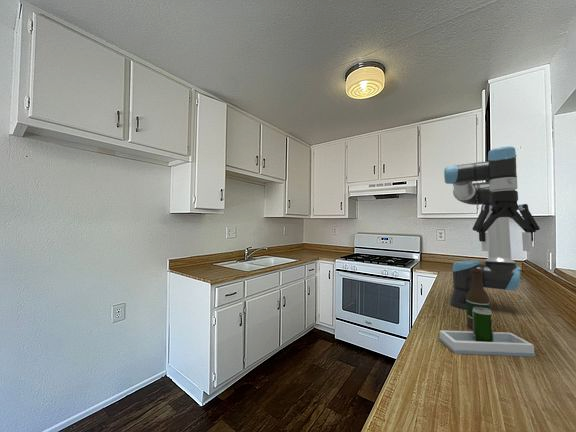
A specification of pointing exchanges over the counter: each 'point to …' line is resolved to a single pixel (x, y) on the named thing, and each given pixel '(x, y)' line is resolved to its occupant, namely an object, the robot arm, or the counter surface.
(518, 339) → the tray
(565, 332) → the counter surface
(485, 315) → the beer can
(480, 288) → the beer bottle
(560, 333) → the counter surface
